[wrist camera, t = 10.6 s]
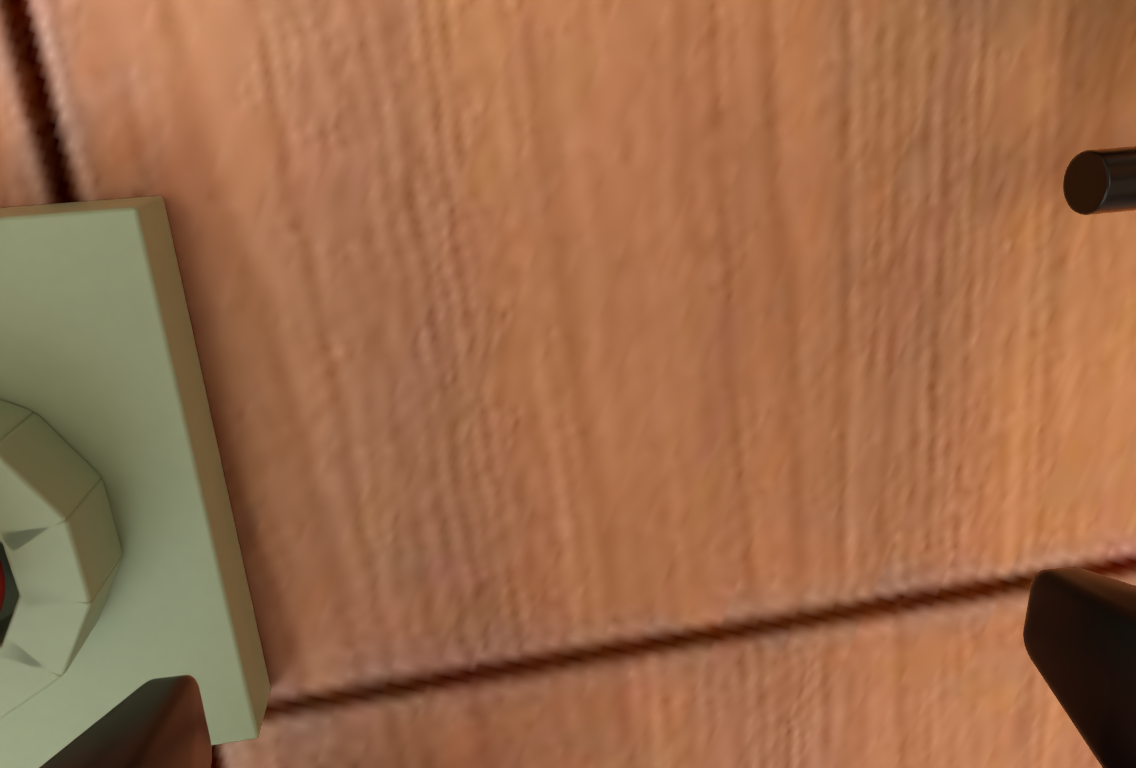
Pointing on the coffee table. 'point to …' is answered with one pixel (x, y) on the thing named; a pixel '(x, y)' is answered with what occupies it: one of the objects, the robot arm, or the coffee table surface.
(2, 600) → the stop button
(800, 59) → the coffee table surface
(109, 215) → the control block
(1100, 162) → the switch lever
